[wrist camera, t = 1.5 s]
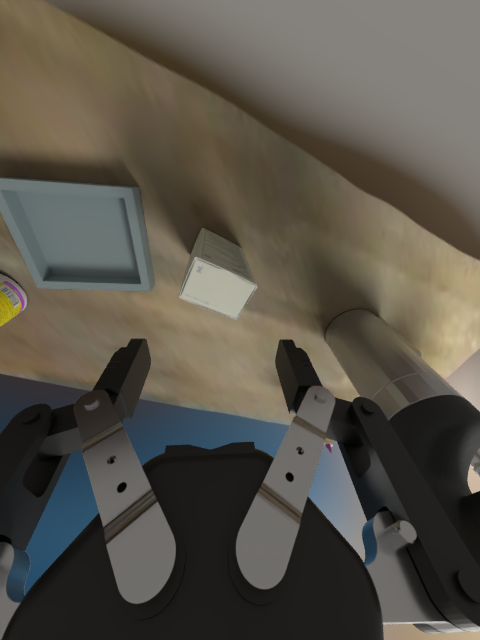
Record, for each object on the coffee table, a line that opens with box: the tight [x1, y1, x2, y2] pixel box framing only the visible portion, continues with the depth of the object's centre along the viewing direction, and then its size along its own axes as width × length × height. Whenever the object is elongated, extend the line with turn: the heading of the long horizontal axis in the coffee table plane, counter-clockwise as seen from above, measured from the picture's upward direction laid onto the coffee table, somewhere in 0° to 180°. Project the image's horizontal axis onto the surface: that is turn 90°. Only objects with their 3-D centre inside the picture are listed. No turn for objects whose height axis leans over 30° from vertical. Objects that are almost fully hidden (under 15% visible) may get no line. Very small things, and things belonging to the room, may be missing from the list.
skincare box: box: [179, 228, 257, 319], centre depth 25 cm, size 6×4×12 cm
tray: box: [0, 177, 155, 291], centre depth 26 cm, size 14×12×2 cm
